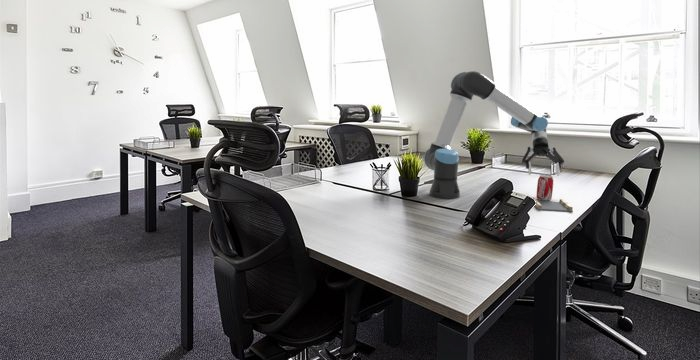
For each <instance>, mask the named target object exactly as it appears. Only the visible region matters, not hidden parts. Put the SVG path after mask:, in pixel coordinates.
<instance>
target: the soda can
mask: <svg viewBox="0 0 700 360" xmlns="http://www.w3.org/2000/svg"><path fill="white" fill-rule="evenodd" d="M553 189H554V178H553V175H549V174H540V175H539V177H538V179H537V185H536V200H537V199H538V200H537V201H541V200H542V201H551V200H552V198H553V192H554V191H553Z"/></svg>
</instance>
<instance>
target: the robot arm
mask: <svg viewBox="0 0 700 360" xmlns="http://www.w3.org/2000/svg"><path fill="white" fill-rule="evenodd" d="M450 88H451V90H450V93H449V96H450V101H449V103H448V106H447V109H446V112H445V114H444V117H443V119H442V123H441V125H440V128H439V130H438V133H437V136H436V139H435V141H432V142H431V144H430V146H429V148H428V149H427V150H426V151H425V152H424V154H423V162H424V164H425V166H427V168H428V169H430V170H431V171H433V181H432V184H431V187H430V190H429V196H431V197H434V198H438V199H457V198H459V197H460V196H461V195H460V194H461V191H460V187H459V183H458V172H459V171H458V170H459V160H460V158H459V152H458V151H456V150H455V149H452V144H453V141H454V139H455V136H456V133H457V130H458V128H459V126H460V123H461V120H462V118H463V115H464V113H465V110H466V107H467V105H468V103H470V102H472V100H473V97H474V96H476V97H478V98H480V99H481V100H487V101H488V102H490V103H491V104H493V105H494V106H496V107H497V108H498V109H501V110H502V111H503V112H505V113H506V114H508V115H509V116H511V118H510V125H511V126H512V127H515V128H517V129H521V130H524V131H525V132H526V131H527V132H528V133H531V134H530V135H531V140H532V141H531V142H532V147H530V146H528V147H527V149H526V153H525V154H524V156H523V157H522V160H521V164H524V165H525V169H527V171H528V176H531V174H532V164H531V161H533V160H534V158H536V157H537V156H538V157H545V158H547V159H549V160H550V161H552V163H554V164H555V170H556V176H557V177H559V176H560V174H561V169H562V165H563V164H564V162H565V160H564V158H563V157H562V156H561V155H560V153H559V152H558V151H557V149H556V147H552V148H550V147H549V141H548V133H547V128H548V125H549V123H548V119H547V117H545V116H541V115H539V114H537V113H535V112H534V111H533V110H531V109H529V108H528V107H526V106H525V105H524V104H522V103H520V102H519V101H518V100H516V99H515V98H514V97H512V96H511V95H510V94H508V93H507V92H505V91H504V90H502V89H500V88H499V87H498V86H497V83H495V82H494V81H493V80H491V79H490V78H488V77H487V76H486V75H484V74H483V73H480V72H479V71H475V70H474V71H464V72H463V71H462V72H460V73H457V74H455V76H454V77H453V78H452V79H451V81H450ZM531 152H533V153H532V155H530V156H529V154H530V153H531ZM528 156H529V157H528Z"/></svg>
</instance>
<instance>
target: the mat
mask: <svg viewBox="0 0 700 360" xmlns="http://www.w3.org/2000/svg"><path fill="white" fill-rule="evenodd" d="M537 201H538V202H539V203H540V204H541V205H542V209H538V207H537V206H536V205H535V206H534V208H536V210H538V211H546V212H547V211H548V212H550V211H552V212H567V213H573V210H572V211H569V210H568V209H567V208H566V207H565V206H563V205H562V204H561V203H560V202H559V201H551V200H549V201H541V200H537Z"/></svg>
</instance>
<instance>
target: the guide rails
mask: <svg viewBox="0 0 700 360" xmlns="http://www.w3.org/2000/svg"><path fill="white" fill-rule="evenodd" d="M532 198H533V199H534V200H535V201H536V206H537V207H538V209H542V205H541V204H540V203H539V202H538V201H539V200H537V198H535V197H532ZM558 202H560V203H561V204H562V205H563V206H565V207H566V208H567V209H568V210H569V211H573V206H572V205H570V203H568V202H567V201H566V200H564V199H563V198H559V201H558ZM538 209H537V210H538Z"/></svg>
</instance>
